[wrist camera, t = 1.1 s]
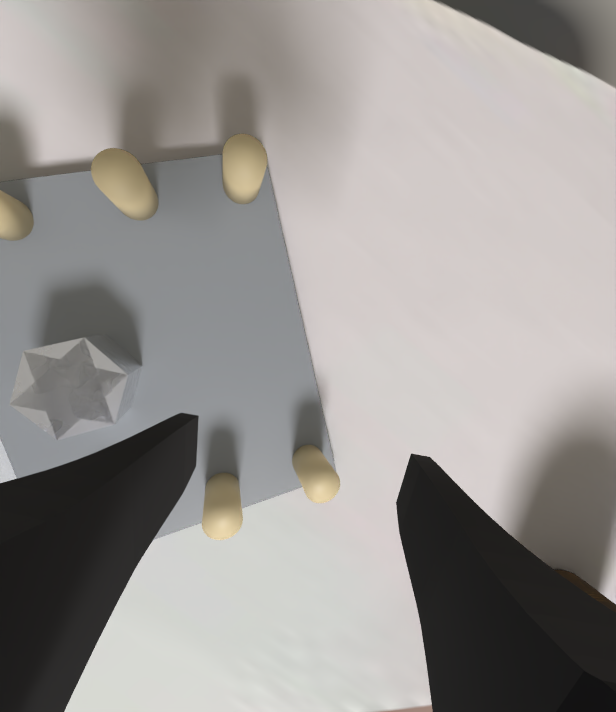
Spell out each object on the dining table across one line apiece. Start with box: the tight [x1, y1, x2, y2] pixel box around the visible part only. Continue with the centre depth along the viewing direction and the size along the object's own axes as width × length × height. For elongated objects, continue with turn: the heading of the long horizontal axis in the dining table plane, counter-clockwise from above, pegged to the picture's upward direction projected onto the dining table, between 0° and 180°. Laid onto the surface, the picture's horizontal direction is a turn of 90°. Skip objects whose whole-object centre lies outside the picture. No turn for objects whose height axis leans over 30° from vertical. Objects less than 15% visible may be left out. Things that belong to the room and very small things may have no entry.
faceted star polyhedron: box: [9, 334, 142, 440], centre depth 19 cm, size 6×5×4 cm
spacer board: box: [0, 134, 340, 540], centre depth 21 cm, size 20×24×5 cm
